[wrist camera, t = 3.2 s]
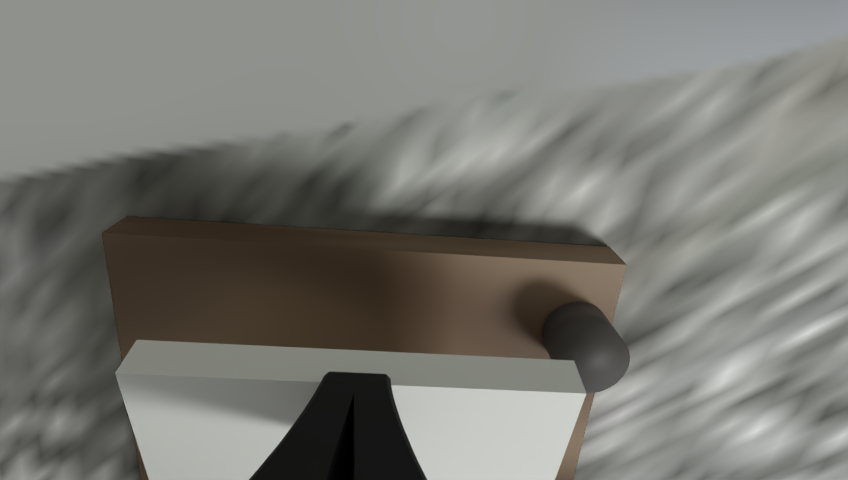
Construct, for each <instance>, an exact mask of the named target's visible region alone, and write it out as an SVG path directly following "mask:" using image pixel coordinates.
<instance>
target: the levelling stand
mask: <svg viewBox="0 0 848 480" xmlns="http://www.w3.org/2000/svg"><path fill="white" fill-rule="evenodd" d="M102 237H103V244H104V250H105V256H106V262H107V269H108V275H109V281H110V288H111V294H112V300H113V306H114V313H115V319H116V325H117V332H118V338H119V344H120V350H121V357H122V362H123V360H124V358H125V357H126V355H127V354H128V352H129V351H130V349H131V348H132V346H133V345H134V343H135V342H136V340H153V341H174V342H195V343H216V344H237V345H258V346H279V347H300V348H321V349H342V350H363V351H384V352H405V353H426V354H447V355H468V356H489V357H510V358H531V359H552V360H573V361H574V362H575V364H576V367H577V370H578V372H579V375H580V378H581V380H582V383H583V386H584V388H585V391H586V396H585V399H584V402H583V405H582V407H581V410H580V413H579V415H578V418H577V421H576V424H575V426H574V429H573V432H572V435H571V437H570V440H569V443H568V446H567V448H566V451H565V454H564V456H563V459H562V462H561V465H560V467H559V470H558V473H557V476H556V478H555V480H573V478H574V474H575V470H576V466H577V462H578V458H579V454H580V450H581V446H582V442H583V438H584V434H585V430H586V426H587V422H588V418H589V414H590V410H591V406H592V402H593V398H594V394H595V392H600V391H603V390H605V389H608V388H610V387H611V386H613V385H614V384H616V383H617V382H618V381H619V380H620V379H621V378H622V377H623V376H624V374H625V373H626V371H627V369H628V366H629V361H630V354H629V350H628V348H627V346H626V344H625V343H624V341H623V340H622V338H621V337H620V336H619V334H618V333H617V331H616V330H615V329H614V327H613V326H612V322H613V318H614V314H615V310H616V306H617V302H618V298H619V294H620V290H621V286H622V282H623V278H624V274H625V270H626V266H627V265H626V264H625V263H624V261H623V260H622V259H621V258H620V257H619V256H618V255H617V254H616V253H615V252H614V251H613V250H612V249H611V248H610V247H607V246H591V245H575V244H560V243H544V242H528V241H512V240H496V239H480V238H464V237H448V236H432V235H417V234H401V233H385V232H369V231H353V230H337V229H321V228H305V227H289V226H274V225H258V224H242V223H226V222H210V221H194V220H178V219H162V218H146V217H130V216H127V217H125V218H124V219H122V220H121V221H119V222H118V223H116V224H115V225H113V226H112V227H110V228H109V229H107V230H106V231H104V232H103V233H102ZM134 438H135V435H134ZM135 445H136V451H137V457H138V463H139V470H140V476H141V480H149V479H148V475H147V472H146V469H145V466H144V463H143V460H142V457H141V454H140V450H139V447H138V444H137V441H136V438H135Z"/></svg>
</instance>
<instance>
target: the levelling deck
mask: <svg viewBox="0 0 848 480" xmlns="http://www.w3.org/2000/svg"><path fill="white" fill-rule="evenodd" d="M329 371H330V372H353V373H376V374H386V375H387V376H388V377H389V378H390V379H391V387H392V392H393V397H394V400H395V404H396V407H397V410H398V413H399V417H400V419H401V422H402V425H403V427H404V430H405V432H406V435H407V437H408V440H409V442H410V444H411V447H412V449H413V451H414V454H415V456H416V458H417V460H418V462H419V464H420V466H421V468H422V470H423V472H424V474H425V476H426V478H427V480H555V478H556V476H557V473H558V470H559V467H560V465H561V462H562V459H563V456H564V454H565V451H566V448H567V446H568V443H569V440H570V437H571V435H572V432H573V429H574V426H575V424H576V421H577V418H578V415H579V413H580V410H581V407H582V405H583V402H584V399H585V396H586V391H585V388H584V386H583V383H582V380H581V378H580V375H579V372H578V370H577V367H576V364H575V362H574V361H573V360H552V359H531V358H510V357H489V356H468V355H447V354H426V353H405V352H384V351H363V350H342V349H321V348H300V347H279V346H258V345H237V344H216V343H195V342H174V341H153V340H136V342H135V343H134V345H133V346H132V348H131V349H130V351H129V352H128V354H127V355H126V357H125V358H124V360H123V362H122V363H121V365H120V366H119V368H118V369H117V371H116V372H115V375H116V378H117V381H118V384H119V388H120V391H121V394H122V397H123V400H124V403H125V406H126V410H127V413H128V416H129V419H130V422H131V425H132V428H133V432H134V435H135V438H136V441H137V444H138V447H139V450H140V454H141V457H142V460H143V463H144V466H145V469H146V472H147V475H148V479H149V480H249V479H250V478H251V476H252V475H253V474H254V473H255V472H256V471H257V470H258V468H259V467H260V466H261V465H262V464H263V462H264V461H265V460H266V459H267V458H268V456H269V455H270V454H271V453H272V452H273V450H274V449H275V448H276V447H277V446H278V444H279V443H280V442H281V440H282V439H283V438H284V437H285V435H286V434H287V432H288V431H289V430H290V428H291V427H292V426H293V424H294V423H295V421H296V420H297V419H298V417H299V416H300V415H301V413H302V412H303V410H304V409H305V407H306V406H307V404H308V403H309V401H310V399H311V398H312V396H313V395H314V393H315V391H316V390H317V388H318V386H319V384H320V383H321V381H322V379H323V377H324V375H325V374H327V373H328V372H329Z"/></svg>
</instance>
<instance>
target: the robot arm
mask: <svg viewBox="0 0 848 480" xmlns="http://www.w3.org/2000/svg"><path fill="white" fill-rule="evenodd" d="M249 480H427V478H426V476H425V474H424V472H423V470H422V468H421V466H420V464H419V462H418V460H417V458H416V456H415V454H414V451H413V449H412V447H411V444H410V442H409V440H408V437H407V435H406V432H405V430H404V427H403V425H402V422H401V419H400V417H399V413H398V410H397V407H396V404H395V400H394V397H393V392H392V387H391V379H390V378H389V377H388V376H387V375H386V374H376V373H353V372H330V371H329V372H328V373H327V374H325V375H324V377H323V379H322V381H321V383H320V384H319V386H318V388H317V390H316V391H315V393H314V395H313V396H312V398H311V399H310V401H309V403H308V404H307V406H306V407H305V409H304V410H303V412H302V413H301V415H300V416H299V417H298V419H297V420H296V421H295V423H294V424H293V426H292V427H291V428H290V430H289V431H288V432H287V434H286V435H285V437H284V438H283V439H282V440H281V442H280V443H279V444H278V446H277V447H276V448H275V449H274V450H273V452H272V453H271V454H270V455H269V456H268V458H267V459H266V460H265V461H264V462H263V464H262V465H261V466H260V467H259V468H258V470H257V471H256V472H255V473H254V474H253V475H252V476H251V478H250V479H249Z"/></svg>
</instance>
